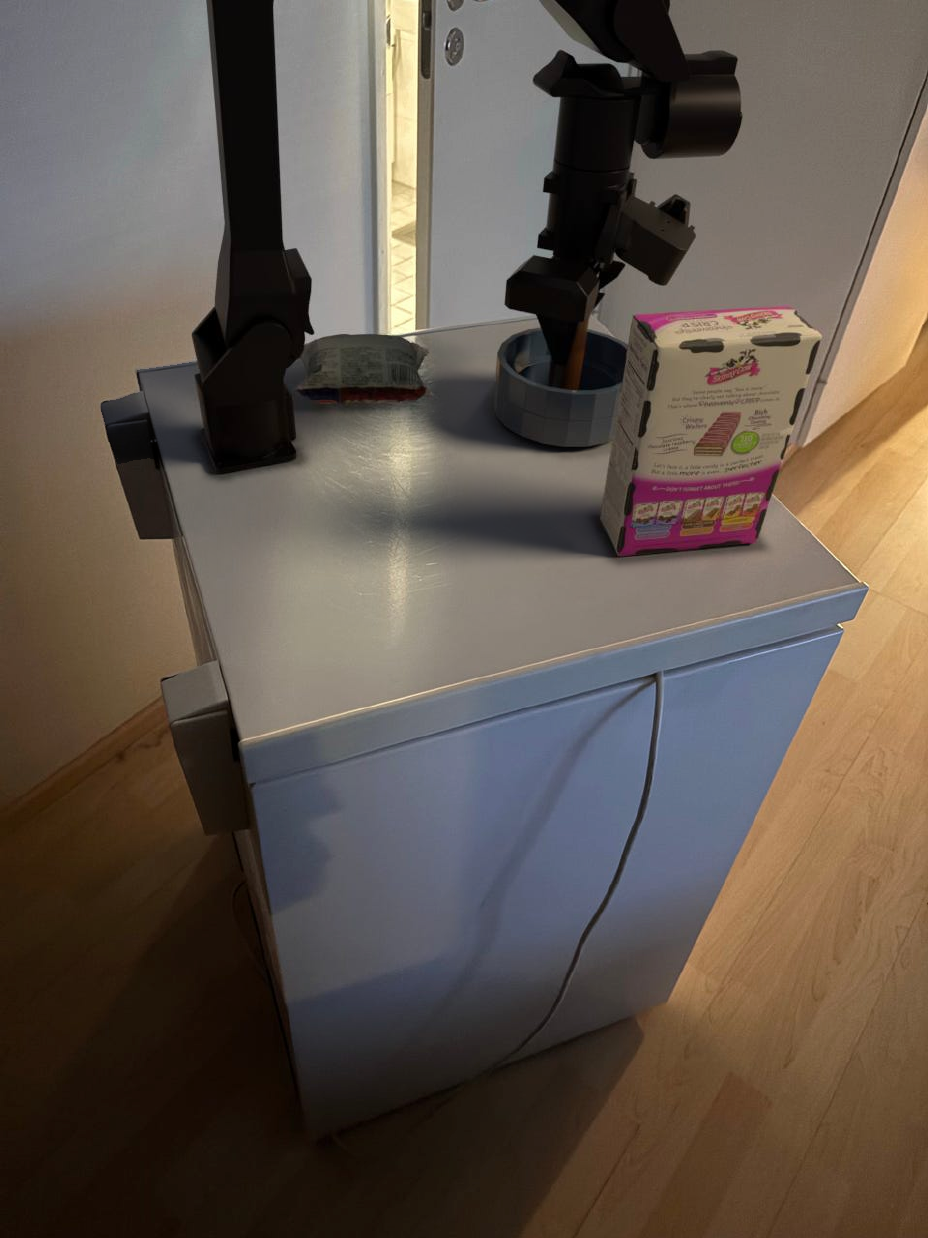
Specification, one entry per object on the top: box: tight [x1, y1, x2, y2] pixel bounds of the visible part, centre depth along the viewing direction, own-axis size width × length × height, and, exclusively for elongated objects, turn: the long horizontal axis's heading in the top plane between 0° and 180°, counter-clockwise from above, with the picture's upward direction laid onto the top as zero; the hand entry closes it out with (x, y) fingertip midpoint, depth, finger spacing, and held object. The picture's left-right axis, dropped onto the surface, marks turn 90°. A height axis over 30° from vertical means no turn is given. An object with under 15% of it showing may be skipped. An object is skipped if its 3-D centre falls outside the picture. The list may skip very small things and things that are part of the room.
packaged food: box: [294, 333, 434, 405], centre depth 79 cm, size 9×12×5 cm
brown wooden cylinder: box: [547, 314, 591, 390], centre depth 76 cm, size 3×3×9 cm
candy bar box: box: [599, 305, 823, 557], centre depth 61 cm, size 11×5×16 cm, turn 101°
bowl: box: [492, 326, 628, 448], centre depth 77 cm, size 12×12×6 cm
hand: (565, 357), depth 77 cm, fingers closed on brown wooden cylinder, 3 cm apart
